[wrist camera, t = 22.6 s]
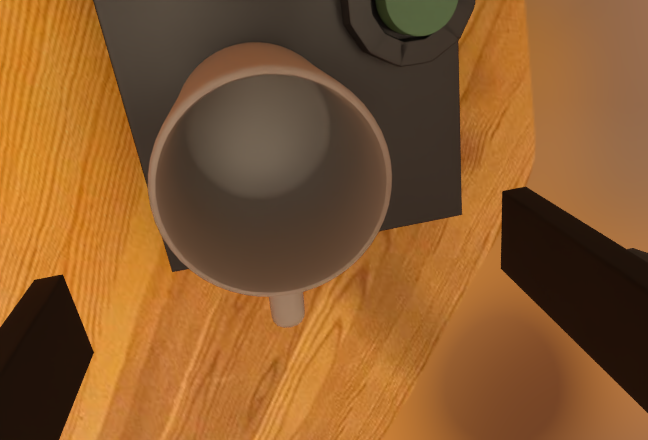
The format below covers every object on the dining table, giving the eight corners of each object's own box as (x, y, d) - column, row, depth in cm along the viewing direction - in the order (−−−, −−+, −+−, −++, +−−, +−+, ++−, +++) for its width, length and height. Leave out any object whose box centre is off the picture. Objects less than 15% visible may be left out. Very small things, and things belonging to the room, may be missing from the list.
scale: (445, -78, 27) (475, -90, 23) (453, 203, 33) (477, 224, 30) (92, -32, 25) (72, -38, 21) (175, 258, 31) (169, 286, 28)
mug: (159, 50, 25) (114, 78, 15) (328, 33, 26) (392, 48, 16) (204, 263, 30) (192, 392, 20) (345, 241, 31) (401, 353, 21)
